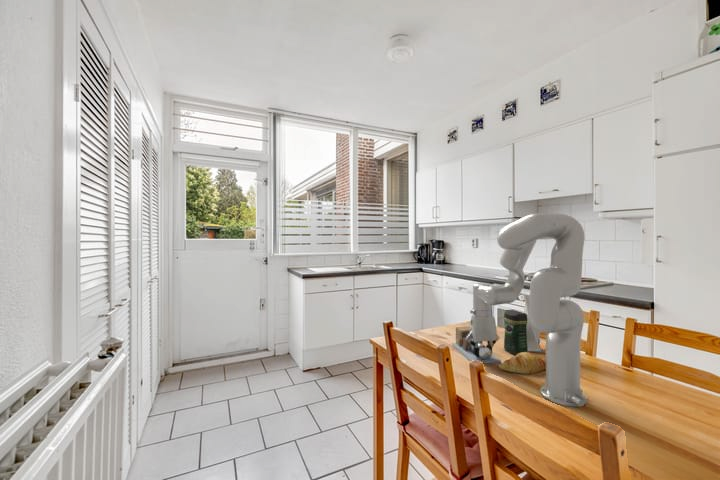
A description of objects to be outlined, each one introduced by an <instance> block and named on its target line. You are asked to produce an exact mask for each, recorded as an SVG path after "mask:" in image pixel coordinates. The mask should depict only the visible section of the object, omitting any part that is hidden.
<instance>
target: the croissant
mask: <svg viewBox="0 0 720 480" xmlns="http://www.w3.org/2000/svg"><path fill="white" fill-rule="evenodd" d="M498 367H499V369H500V370H503V371H506V372H510V373H516V374H524V375H528V374H536V373H539V372H541V371H543V370H546V358H543V357H539V356H538V355H535V354H533V353H532V352H520V353H518V354H517V355H516V354H515V355H513V356H511V358H509V359H506V360H504V361H503V363H502V362H501V363H499V366H498Z"/></svg>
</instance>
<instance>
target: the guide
mask: <svg viewBox="0 0 720 480" xmlns="http://www.w3.org/2000/svg"><path fill="white" fill-rule="evenodd" d="M479 342H480V343H482V344H483V341H479ZM463 349H464V350H465V351H468V341H467V340H466V338H463Z"/></svg>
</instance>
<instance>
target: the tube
mask: <svg viewBox="0 0 720 480" xmlns="http://www.w3.org/2000/svg"><path fill="white" fill-rule="evenodd" d="M471 340H472V341H473V338H471ZM468 347H469V348H470V349H471V350H473V345H472V344H471V343H470V342H468ZM478 348H479V356H480V357H481V358H483V359H484V360H488V359H489V358H490V357H491V356H492V354H493V351H492V352H491V350H490V349H489V348H487V347H486V345H484V344H483V342H482V343H480V342H479V344H478Z"/></svg>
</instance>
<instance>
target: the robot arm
mask: <svg viewBox="0 0 720 480" xmlns="http://www.w3.org/2000/svg"><path fill="white" fill-rule="evenodd" d="M496 239H497V240H496V241H497V244H498V246H499V247H500V248H502V249H503V253H502V254H501V257H500V259H499V263H500V265H501V266H502V268H504V269H506V270H508V277H507V280H506V282H505V283H504V284H499V285H498V284H497V285H491V283H487V282H477V283H474V284H473V287H472V306H473V307H472V309H471V310H470V311H469V312H470V314H471V318H470V324H469V327H470V333H469V334H468V336H467V337H466V340H467V341H468V342H470V343H471V344H472V345H473V353H474V355H475V356H476V357H479V348H478V344H479V341H482V342H486V345H485V346H486V347H487V348H489V349H490V350H491V352H492V353H493V347H494V345H495V344H496V343H497V342H498V341H499V340H500V339H501V338H500V336H499V335H498V333H497V332H498V331H497V323H496V318H495V316H494V315H493V306H498V305H504V304H505V305H506V304H510V303H514V302H515V301H516V300H517V299H518V298H519V297H520V295H521V293H522V290H523V288H524V287H525V273H524V267H525V266H526V264H527V261H528V259H529V257H530V255H531V253H532V251H533V249H534V247H535V245H536V242H537V240H554V241H555V243H554V245H553V247H552V250H551V252H550V253H551V254H550V264H549V267H546V268H542V269H539V270H537V271H536V272H535V273H534V274H533V276H532V278H531V280H530V284H529V292H530V295H529V319H530V322H531V324H532V326H533V327H534V329H536V330H537V331H538V332H540V334H545V335H546V338H545V359H546V368H545V384H544V385H542V386H541V387H540V388H539V389H540V391H539V392H540V394H541V396H542V395H543V396H542V397H543V398H545V399H546V398H547V399H546V400H548V399H549V400H548V401H550V400H552V401H553V402H552V401H551V402H552V403H555V404H557V405H561V404H562V405H561V406H566V407H573V408H574V407H576V408H577V407H583V406H584V405H586V403H588V401H589V400H588V398H587V396H586V395H585V394H583V389H582V388H581V344H582V343H581V342H582V332H583V328H584V325H585V323H584V322H585V315H584V311H583V309H582V308H581V306H580V305H579V304H578V303H576V302H575V301H573V300H570V299H561V298H567V297H573V296H575V295H577V294H578V293H579V292H580V290H581V287H582V275H583V274H582V273H583V253H584V246H585V230H584V228H583V226H582V224H581V223H580V222H579V221H578V220H577V219H576V218H574V217H572V216H570V215H567V214H564V213H556V212H555V213H553V212H552V213H550V212H548V213H545V212H544V213H541V212H535V213H530V214H528V215H526V216H524V217H521V218H519V219H518V220H515V221H513V222H511V223H509V224H507V225H504V227H502V228H501V229H500V231H499V232H498V234H497V238H496ZM471 338H473V341H472V340H471Z"/></svg>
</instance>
